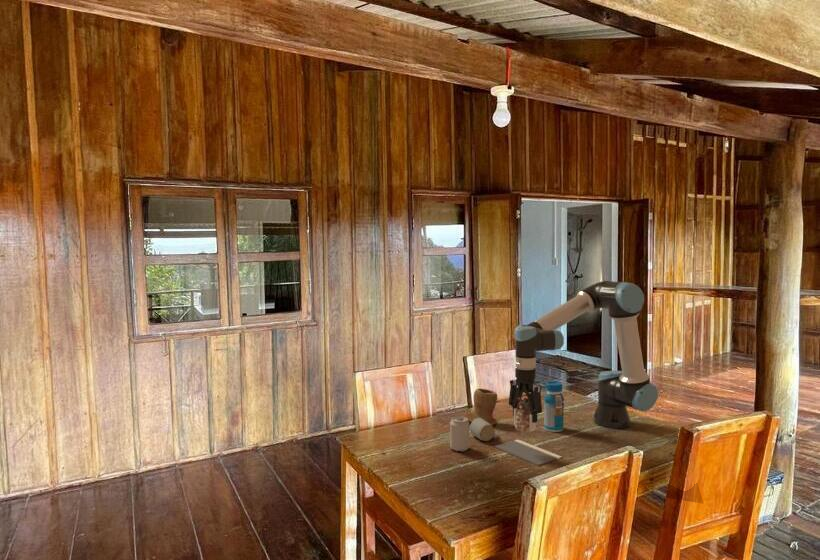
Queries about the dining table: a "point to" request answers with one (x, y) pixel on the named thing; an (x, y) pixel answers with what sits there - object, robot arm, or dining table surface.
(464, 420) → the can
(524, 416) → the figurine
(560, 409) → the beverage bottle
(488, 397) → the brown boot planter
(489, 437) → the ceramic mug
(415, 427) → the dining table surface
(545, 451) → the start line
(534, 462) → the mat
